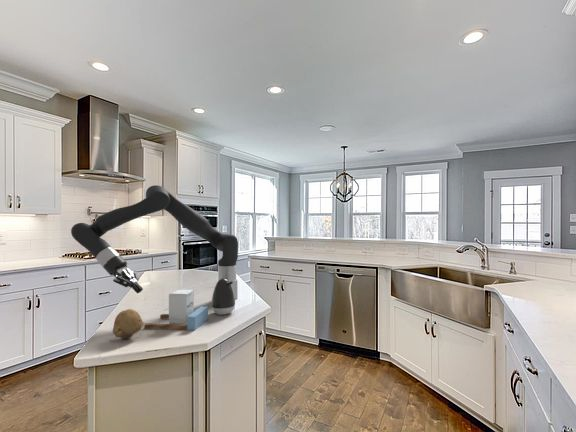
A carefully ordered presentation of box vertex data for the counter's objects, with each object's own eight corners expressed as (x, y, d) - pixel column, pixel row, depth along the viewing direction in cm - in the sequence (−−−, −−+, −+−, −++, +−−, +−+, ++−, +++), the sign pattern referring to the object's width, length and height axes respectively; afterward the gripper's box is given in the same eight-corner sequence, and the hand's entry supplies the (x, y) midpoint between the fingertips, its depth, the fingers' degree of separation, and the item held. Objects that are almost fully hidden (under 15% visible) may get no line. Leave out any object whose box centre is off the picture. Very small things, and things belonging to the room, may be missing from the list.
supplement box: (186, 326, 117) (186, 293, 117) (168, 326, 118) (168, 293, 118) (194, 320, 124) (194, 289, 124) (177, 320, 125) (177, 289, 125)
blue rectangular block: (187, 329, 114) (187, 316, 114) (201, 318, 127) (200, 306, 127) (195, 330, 113) (195, 316, 113) (208, 318, 126) (207, 306, 126)
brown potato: (147, 333, 110) (147, 306, 110) (134, 343, 101) (134, 313, 102) (123, 333, 111) (123, 306, 111) (107, 343, 102) (107, 313, 102)
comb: (144, 328, 115) (144, 324, 115) (162, 317, 128) (162, 313, 128) (187, 329, 114) (187, 325, 114) (201, 318, 127) (201, 314, 127)
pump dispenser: (224, 318, 126) (223, 281, 126) (206, 314, 132) (206, 279, 132) (240, 312, 135) (240, 277, 135) (223, 308, 140) (222, 275, 141)
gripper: (116, 265, 130) (143, 293, 129) (93, 270, 117) (123, 302, 116) (127, 252, 130) (155, 281, 128) (106, 256, 117) (136, 288, 115)
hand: (140, 291), depth 122 cm, fingers closed
